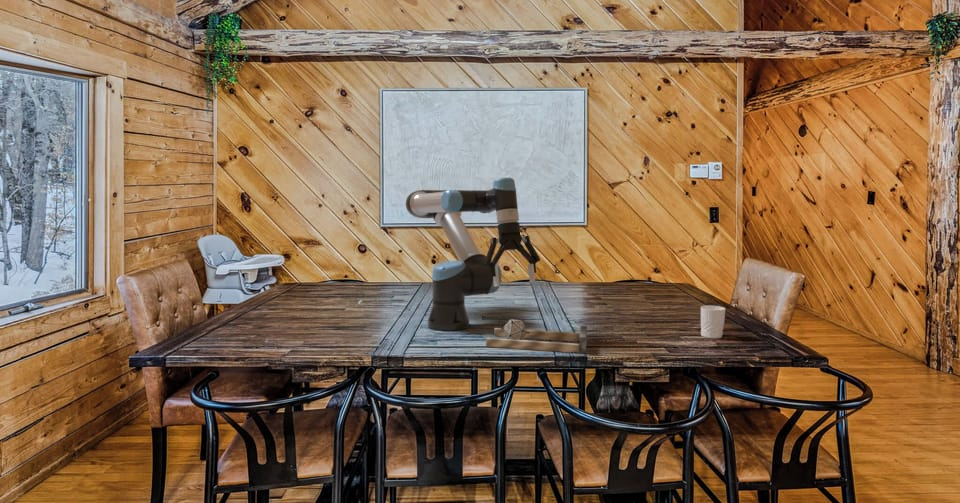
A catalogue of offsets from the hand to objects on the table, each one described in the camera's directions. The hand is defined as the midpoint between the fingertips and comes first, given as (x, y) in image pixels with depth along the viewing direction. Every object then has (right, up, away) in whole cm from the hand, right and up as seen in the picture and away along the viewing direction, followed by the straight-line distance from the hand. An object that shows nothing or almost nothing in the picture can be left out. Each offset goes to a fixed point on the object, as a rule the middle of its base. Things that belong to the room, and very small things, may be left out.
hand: (515, 284), depth 190 cm
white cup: (+68, -18, +4) cm, 71 cm away
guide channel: (+6, -19, -8) cm, 21 cm away
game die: (0, -19, -7) cm, 20 cm away
